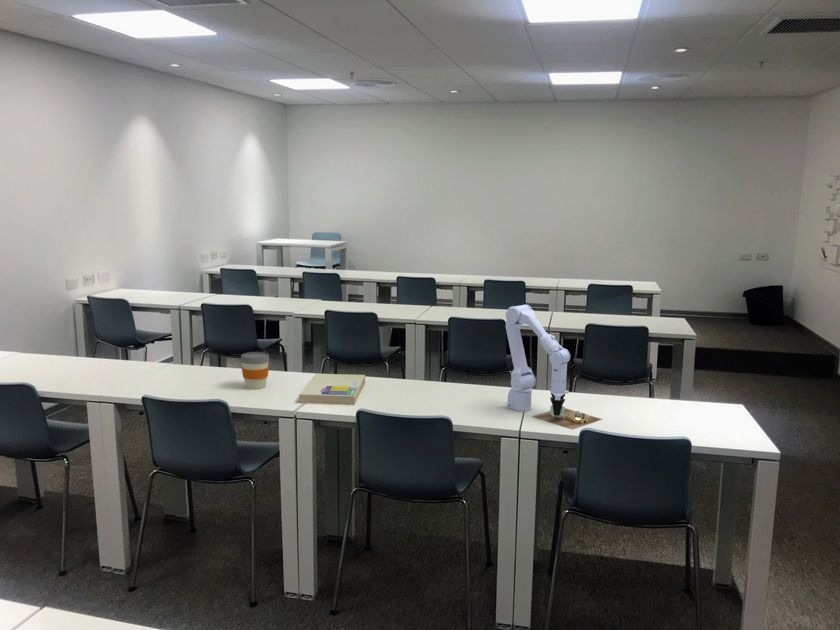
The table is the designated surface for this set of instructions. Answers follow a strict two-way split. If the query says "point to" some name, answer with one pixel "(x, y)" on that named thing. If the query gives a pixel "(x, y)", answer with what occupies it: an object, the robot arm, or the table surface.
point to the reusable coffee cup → (255, 369)
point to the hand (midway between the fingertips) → (557, 412)
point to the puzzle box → (333, 389)
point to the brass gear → (577, 418)
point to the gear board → (562, 420)
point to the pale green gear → (560, 412)
